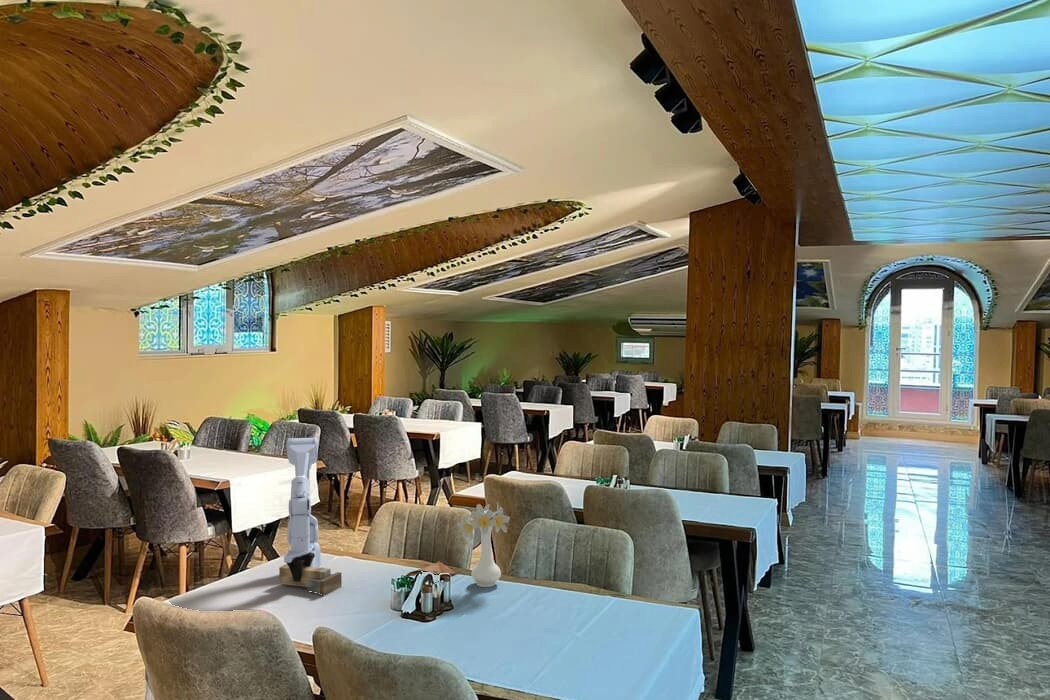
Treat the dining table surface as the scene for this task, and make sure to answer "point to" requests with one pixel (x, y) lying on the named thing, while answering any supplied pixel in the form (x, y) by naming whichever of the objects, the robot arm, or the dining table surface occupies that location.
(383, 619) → the dining table surface
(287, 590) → the dining table surface
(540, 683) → the dining table surface
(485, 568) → the flower vase
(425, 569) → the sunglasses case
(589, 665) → the dining table surface
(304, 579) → the bed rail
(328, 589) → the wooden channel piece
